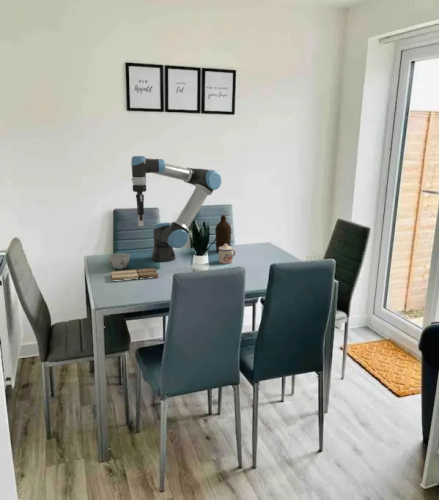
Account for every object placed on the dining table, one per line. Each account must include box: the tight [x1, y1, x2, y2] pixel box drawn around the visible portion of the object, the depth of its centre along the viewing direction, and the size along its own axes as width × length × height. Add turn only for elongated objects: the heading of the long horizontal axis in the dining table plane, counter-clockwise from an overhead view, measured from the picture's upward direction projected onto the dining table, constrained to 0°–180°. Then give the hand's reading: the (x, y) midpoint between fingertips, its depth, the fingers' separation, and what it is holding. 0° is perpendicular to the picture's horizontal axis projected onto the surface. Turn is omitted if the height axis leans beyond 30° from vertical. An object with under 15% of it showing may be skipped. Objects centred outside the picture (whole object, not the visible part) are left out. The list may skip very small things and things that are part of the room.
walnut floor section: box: [136, 267, 159, 279], centre depth 249 cm, size 12×10×2 cm
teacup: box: [107, 252, 131, 270], centre depth 262 cm, size 15×12×8 cm
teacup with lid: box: [218, 244, 236, 265], centre depth 275 cm, size 12×9×12 cm
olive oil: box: [214, 214, 232, 254], centre depth 297 cm, size 11×11×25 cm
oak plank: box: [110, 268, 140, 281], centre depth 246 cm, size 12×14×2 cm
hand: (141, 225), depth 253 cm, fingers closed
